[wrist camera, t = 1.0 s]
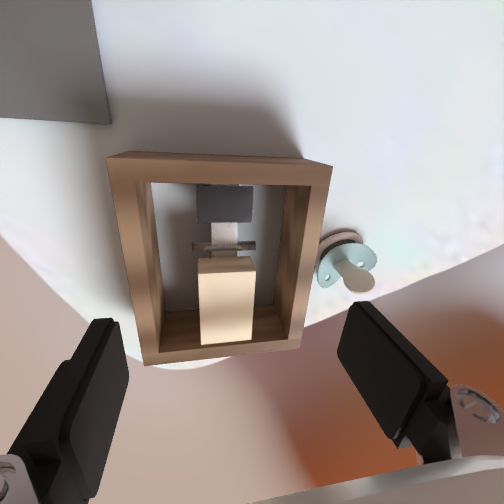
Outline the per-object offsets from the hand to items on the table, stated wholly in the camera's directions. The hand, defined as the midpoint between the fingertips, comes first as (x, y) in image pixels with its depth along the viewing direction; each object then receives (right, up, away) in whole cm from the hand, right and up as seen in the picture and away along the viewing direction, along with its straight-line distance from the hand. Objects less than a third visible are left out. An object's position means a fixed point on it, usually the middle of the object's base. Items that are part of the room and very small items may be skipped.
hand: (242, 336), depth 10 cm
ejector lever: (-2, +3, +15) cm, 15 cm away
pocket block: (-3, +4, +17) cm, 18 cm away
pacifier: (+11, +3, +20) cm, 23 cm away
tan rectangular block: (-2, -1, +16) cm, 16 cm away
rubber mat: (-16, +18, +7) cm, 25 cm away
